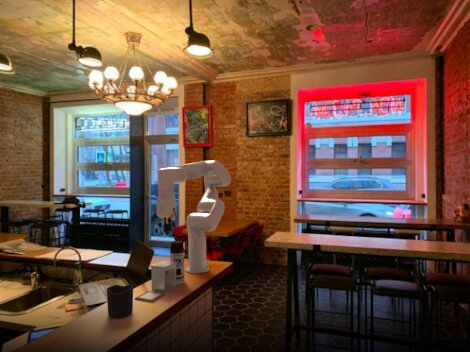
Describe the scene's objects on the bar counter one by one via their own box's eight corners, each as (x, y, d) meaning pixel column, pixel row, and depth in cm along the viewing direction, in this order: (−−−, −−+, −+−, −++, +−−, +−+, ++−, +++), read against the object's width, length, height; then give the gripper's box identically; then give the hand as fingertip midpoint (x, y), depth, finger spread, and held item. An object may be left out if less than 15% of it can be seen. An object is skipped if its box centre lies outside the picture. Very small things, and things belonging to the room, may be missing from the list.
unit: (163, 285, 158) (163, 260, 158) (177, 287, 154) (177, 261, 154) (150, 291, 149) (150, 265, 149) (165, 294, 146) (164, 267, 146)
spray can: (171, 285, 157) (170, 243, 157) (170, 281, 163) (169, 240, 163) (185, 284, 158) (184, 242, 158) (183, 280, 165) (183, 240, 165)
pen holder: (124, 307, 131) (124, 282, 131) (138, 313, 125) (138, 287, 125) (102, 315, 124) (101, 288, 124) (115, 322, 118) (115, 294, 118)
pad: (148, 292, 148) (148, 290, 148) (165, 295, 144) (165, 293, 144) (134, 299, 140) (134, 297, 140) (151, 302, 136) (151, 300, 136)
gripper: (150, 193, 162) (151, 231, 162) (170, 194, 152) (171, 234, 153) (162, 192, 168) (164, 228, 168) (182, 193, 158) (183, 231, 159)
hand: (167, 231), depth 160 cm, fingers closed
